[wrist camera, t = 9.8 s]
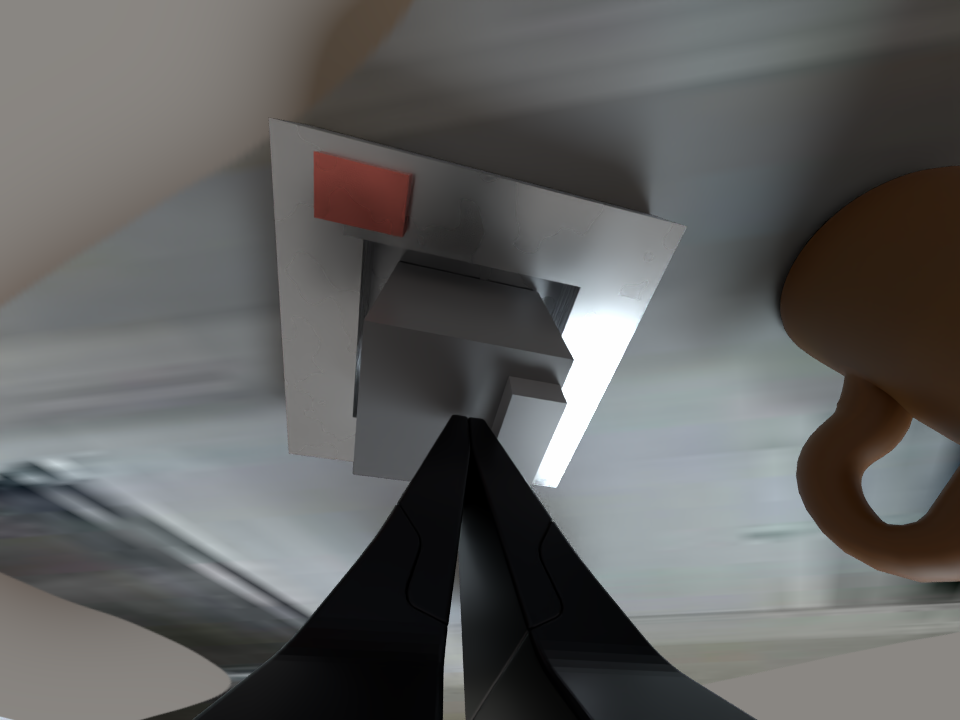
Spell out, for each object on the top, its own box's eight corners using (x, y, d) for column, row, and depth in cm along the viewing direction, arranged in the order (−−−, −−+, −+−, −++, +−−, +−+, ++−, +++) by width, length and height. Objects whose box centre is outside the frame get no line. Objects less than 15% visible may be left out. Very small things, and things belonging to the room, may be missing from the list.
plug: (502, 400, 16) (520, 516, 11) (384, 381, 15) (344, 496, 10) (538, 292, 13) (583, 377, 8) (398, 261, 12) (354, 335, 7)
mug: (745, 435, 19) (960, 651, 11) (651, 368, 16) (838, 583, 8) (1009, 246, 14) (1767, 376, 6) (933, 110, 11) (2062, 11, 3)
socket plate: (546, 450, 19) (559, 498, 16) (310, 416, 17) (282, 464, 14) (650, 214, 13) (698, 230, 10) (305, 124, 11) (256, 115, 8)
